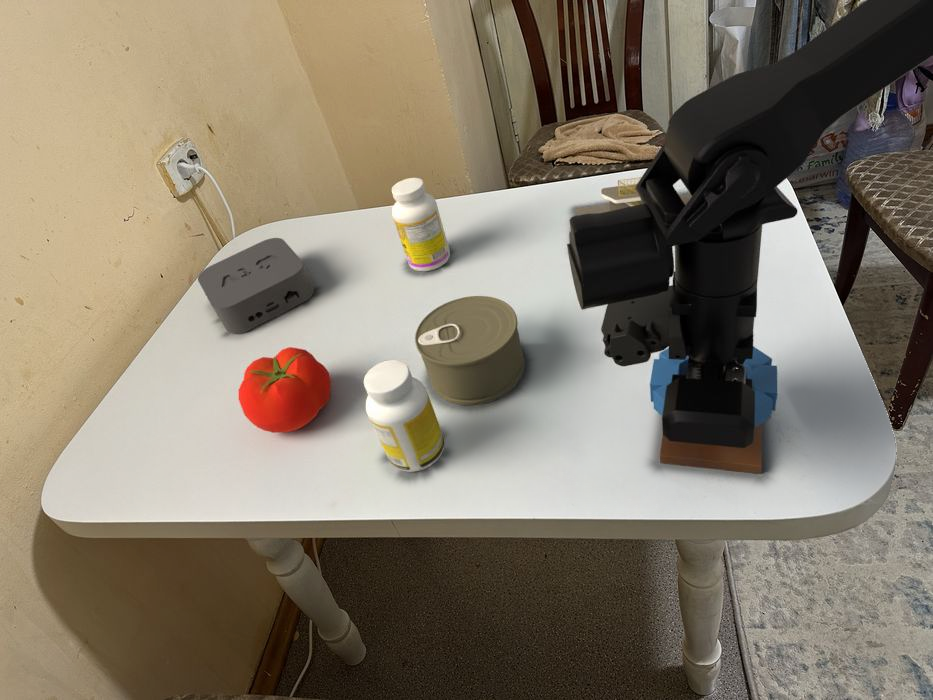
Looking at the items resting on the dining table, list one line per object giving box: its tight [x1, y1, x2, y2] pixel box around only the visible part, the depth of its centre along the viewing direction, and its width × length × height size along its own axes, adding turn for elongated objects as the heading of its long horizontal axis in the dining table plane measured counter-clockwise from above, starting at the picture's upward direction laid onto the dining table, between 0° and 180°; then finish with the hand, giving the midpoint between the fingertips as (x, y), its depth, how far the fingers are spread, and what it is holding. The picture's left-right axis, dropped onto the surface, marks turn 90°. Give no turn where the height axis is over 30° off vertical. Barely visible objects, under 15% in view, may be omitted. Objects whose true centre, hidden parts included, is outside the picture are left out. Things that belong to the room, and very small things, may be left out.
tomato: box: [238, 346, 332, 434], centre depth 79 cm, size 11×11×8 cm
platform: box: [576, 176, 692, 216], centre depth 95 cm, size 12×18×7 cm, turn 83°
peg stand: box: [659, 423, 763, 475], centre depth 63 cm, size 9×9×8 cm
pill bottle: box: [363, 359, 446, 473], centre depth 69 cm, size 6×6×12 cm
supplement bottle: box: [391, 177, 451, 272], centre depth 97 cm, size 7×7×13 cm
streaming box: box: [197, 237, 315, 334], centre depth 102 cm, size 14×14×5 cm
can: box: [414, 295, 526, 406], centre depth 78 cm, size 12×12×7 cm
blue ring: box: [649, 345, 779, 427], centre depth 61 cm, size 11×11×2 cm
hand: (710, 417), depth 58 cm, fingers closed on blue ring, 2 cm apart
